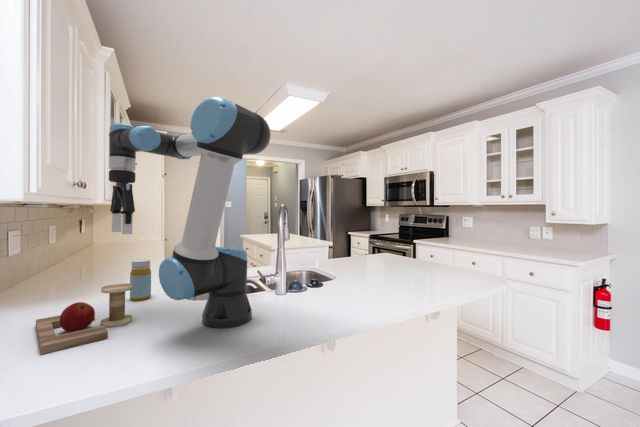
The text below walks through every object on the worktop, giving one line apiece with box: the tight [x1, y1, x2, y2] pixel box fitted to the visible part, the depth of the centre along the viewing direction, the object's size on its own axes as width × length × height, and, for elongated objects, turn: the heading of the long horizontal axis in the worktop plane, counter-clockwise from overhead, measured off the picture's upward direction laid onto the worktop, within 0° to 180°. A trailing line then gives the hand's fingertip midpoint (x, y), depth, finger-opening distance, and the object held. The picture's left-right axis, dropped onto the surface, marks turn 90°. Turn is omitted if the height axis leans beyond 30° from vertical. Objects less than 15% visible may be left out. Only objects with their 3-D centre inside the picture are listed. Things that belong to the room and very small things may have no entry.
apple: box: [60, 301, 96, 333], centre depth 83 cm, size 8×8×8 cm
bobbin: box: [100, 282, 133, 328], centre depth 90 cm, size 8×8×11 cm
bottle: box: [129, 258, 152, 302], centre depth 114 cm, size 7×7×15 cm
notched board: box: [35, 314, 109, 355], centre depth 82 cm, size 24×13×2 cm, turn 46°
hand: (121, 233), depth 100 cm, fingers open, 13 cm apart
